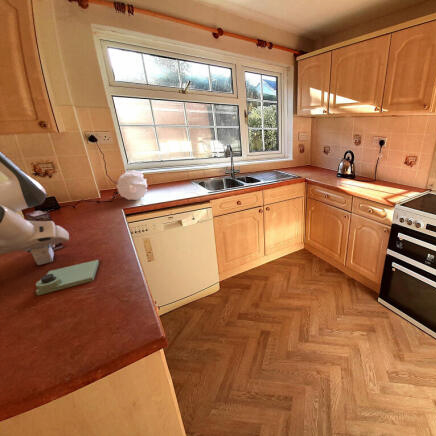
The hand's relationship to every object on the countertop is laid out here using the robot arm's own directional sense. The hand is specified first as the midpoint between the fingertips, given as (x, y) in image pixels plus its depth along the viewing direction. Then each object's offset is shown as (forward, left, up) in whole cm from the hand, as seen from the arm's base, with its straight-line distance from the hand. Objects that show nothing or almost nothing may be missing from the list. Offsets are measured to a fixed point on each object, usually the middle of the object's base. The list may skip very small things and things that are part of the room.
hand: (41, 247), depth 94 cm
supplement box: (-1, +11, -5) cm, 12 cm away
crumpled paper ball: (+29, +81, -5) cm, 86 cm away
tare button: (+7, -26, -2) cm, 27 cm away
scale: (+12, -22, -5) cm, 25 cm away
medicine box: (0, -1, -5) cm, 5 cm away
